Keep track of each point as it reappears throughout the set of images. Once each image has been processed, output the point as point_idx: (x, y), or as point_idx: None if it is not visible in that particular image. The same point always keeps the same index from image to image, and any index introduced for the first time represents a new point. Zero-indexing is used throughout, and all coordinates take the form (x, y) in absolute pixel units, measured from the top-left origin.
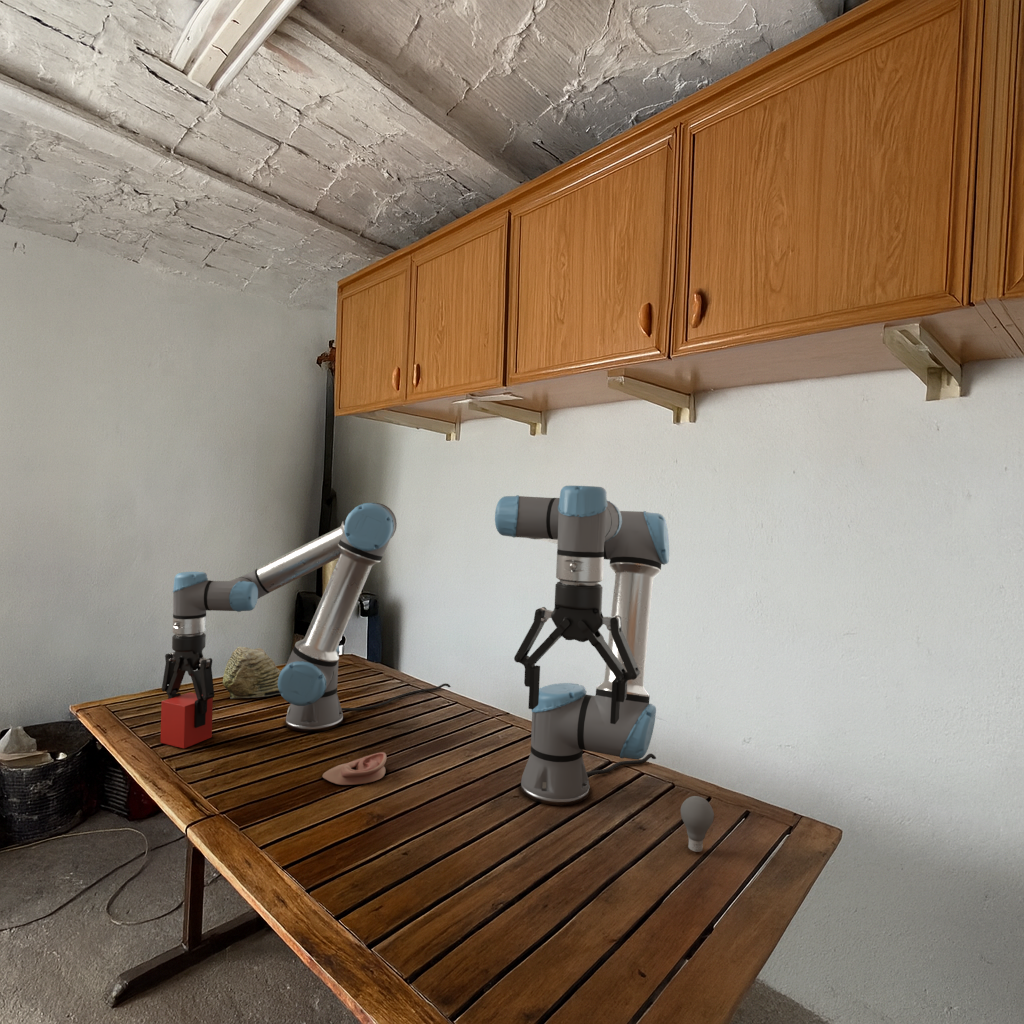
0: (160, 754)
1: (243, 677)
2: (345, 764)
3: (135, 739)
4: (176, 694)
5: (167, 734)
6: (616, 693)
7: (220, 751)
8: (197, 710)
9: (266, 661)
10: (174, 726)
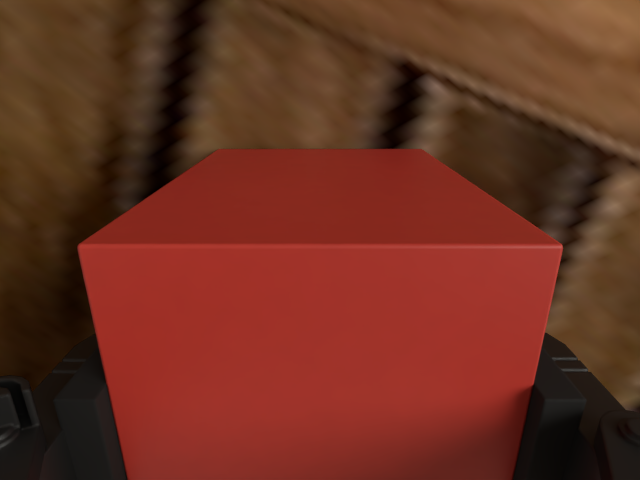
0: (269, 18)
1: None
2: None
3: (614, 117)
4: (543, 470)
5: (367, 158)
6: None
7: (28, 225)
8: None
9: None
10: (296, 174)
